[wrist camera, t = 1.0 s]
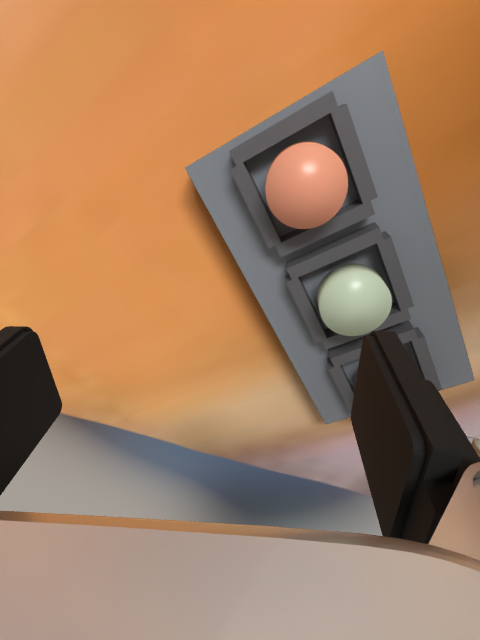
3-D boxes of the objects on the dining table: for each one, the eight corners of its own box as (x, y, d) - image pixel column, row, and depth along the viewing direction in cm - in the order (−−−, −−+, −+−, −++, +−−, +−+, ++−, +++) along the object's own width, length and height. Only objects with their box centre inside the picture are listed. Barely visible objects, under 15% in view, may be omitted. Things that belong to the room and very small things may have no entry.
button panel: (370, 58, 24) (389, 45, 20) (459, 360, 34) (483, 391, 31) (193, 163, 28) (179, 170, 24) (322, 403, 39) (327, 435, 35)
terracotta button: (325, 125, 22) (330, 125, 20) (353, 200, 24) (359, 207, 22) (253, 165, 23) (251, 169, 22) (284, 233, 25) (285, 241, 24)
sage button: (372, 252, 25) (379, 262, 24) (392, 308, 27) (400, 321, 26) (306, 280, 27) (308, 291, 25) (330, 331, 29) (334, 345, 27)
